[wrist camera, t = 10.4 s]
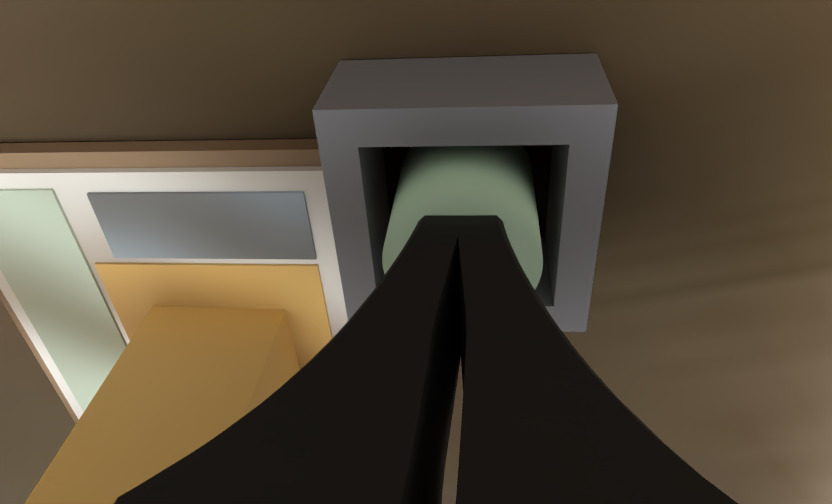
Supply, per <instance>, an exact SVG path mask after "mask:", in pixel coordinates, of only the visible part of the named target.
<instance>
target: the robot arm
mask: <svg viewBox="0 0 832 504" xmlns="http://www.w3.org/2000/svg"><path fill="white" fill-rule="evenodd" d="M460 357H461V365H462V379H463V409H462V425H461V440H460V455H459V470H458V483H457V496H456V504H738V503H736V502H735V501H734V500H732V499H731V498H730V497H728V496H727V495H726V494H724V493H723V492H722V491H721V490H719V489H718V488H717V487H715V486H714V485H713V484H711V483H710V482H709V481H707V480H706V479H705V478H703V477H702V476H701V475H700V474H699V473H698V472H696V471H695V470H694V469H693V468H692V467H691V466H689V465H688V464H687V463H686V462H685V461H684V460H683V459H681V458H680V457H679V456H678V455H677V454H676V453H675V452H673V451H672V450H671V449H670V448H669V447H668V446H666V445H665V444H664V443H663V442H662V441H661V440H660V439H659V438H658V437H657V436H656V435H655V434H654V433H653V432H652V431H651V430H650V429H649V428H648V427H647V426H646V425H645V424H644V423H643V422H642V421H641V420H640V419H639V418H638V417H637V416H636V415H634V414H633V413H632V412H631V411H630V410H629V409H628V408H627V407H626V406H625V405H624V404H623V403H622V402H621V401H620V400H619V399H618V398H617V397H616V396H615V395H614V394H613V393H612V391H611V390H610V389H609V388H608V387H607V386H606V385H605V384H604V382H603V381H602V380H601V379H600V378H599V377H598V376H597V375H596V374H595V372H594V371H593V370H592V369H591V368H590V367H589V365H588V364H587V363H586V362H585V360H584V359H583V358H582V357H581V356H580V354H579V353H578V352H577V351H576V349H575V348H574V347H573V346H572V344H571V343H570V342H569V340H568V339H567V338H566V336H565V335H564V334H563V332H562V331H561V330H560V328H559V327H558V325H557V324H556V322H555V321H554V319H553V318H552V316H551V315H550V314H549V312H548V311H547V309H546V308H545V306H544V304H543V303H542V301H541V300H540V298H539V297H538V295H537V293H536V292H535V290H534V288H533V286H532V285H531V283H530V281H529V279H528V278H527V276H526V274H525V272H524V271H523V269H522V267H521V265H520V263H519V261H518V259H517V257H516V255H515V252H514V250H513V248H512V246H511V244H510V241H509V239H508V236H507V233H506V230H505V227H504V223H503V221H502V220H501V219H500V218H499V217H498V216H497V215H425V216H423V217H422V218H421V219H420V220H419V221H418V223H417V225H416V227H415V229H414V230H413V232H412V234H411V236H410V238H409V239H408V241H407V242H406V244H405V246H404V247H403V249H402V250H401V252H400V254H399V255H398V257H397V258H396V260H395V261H394V263H393V264H392V265H391V267H390V268H389V270H388V271H387V272H386V274H385V275H384V277H383V278H382V279H381V281H380V282H379V284H378V285H377V286H376V288H375V289H374V290H373V291H372V293H371V294H370V295H369V296H368V298H367V299H366V300H365V301H364V302H363V304H362V305H361V306H360V307H359V309H358V310H357V311H356V312H355V313H354V315H353V316H352V317H351V318H350V319H349V321H348V322H347V323H346V324H345V325H344V326H343V327H342V328H341V329H340V331H339V332H338V333H337V334H336V335H335V336H334V337H333V338H332V339H331V340H330V341H329V342H328V343H327V344H326V345H325V346H324V347H323V348H322V349H321V350H320V351H319V352H318V353H317V354H316V355H315V356H314V357H313V358H312V359H311V360H310V361H309V362H308V363H307V364H306V365H305V366H304V367H302V368H301V369H300V370H299V371H298V372H297V373H296V374H295V375H293V376H292V377H291V378H290V379H289V380H288V381H287V382H286V383H285V384H283V385H282V386H281V387H280V388H279V389H278V390H276V391H275V392H274V393H273V394H272V395H270V396H269V397H268V398H267V399H266V400H264V401H263V402H262V403H261V404H259V405H258V406H257V407H255V408H254V409H253V410H251V411H250V412H249V413H247V414H246V415H245V416H243V417H242V418H240V419H239V420H238V421H236V422H235V423H234V424H232V425H231V426H230V427H228V428H227V429H226V430H224V431H223V432H222V433H220V434H219V435H217V436H216V437H214V438H213V439H212V440H210V441H209V442H207V443H206V444H204V445H203V446H201V447H200V448H198V449H197V450H195V451H194V452H192V453H190V454H189V455H187V456H186V457H184V458H182V459H181V460H179V461H177V462H176V463H174V464H172V465H171V466H169V467H168V468H166V469H164V470H163V471H161V472H159V473H158V474H156V475H154V476H153V477H151V478H150V479H148V480H146V481H145V482H143V483H141V484H140V485H138V486H136V487H135V488H133V489H131V490H130V491H128V492H126V493H124V494H123V495H121V496H119V497H118V498H117V499H116V501H115V502H114V504H442V489H443V479H444V469H445V462H446V455H447V448H448V441H449V434H450V427H451V420H452V413H453V406H454V400H455V393H456V386H457V379H458V372H459V365H460Z"/></svg>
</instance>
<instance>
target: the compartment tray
mask: <svg viewBox="0 0 832 504" xmlns="http://www.w3.org/2000/svg"><path fill="white" fill-rule="evenodd" d="M0 299H1V301H2V302H3V304H4V306H5V307H6V309H7V311H8V312H9V314H10V316H11V317H12V319H13V321H14V322H15V324H16V326H17V327H18V329H19V330H20V332H21V334H22V335H23V337H24V339H25V340H26V342H27V344H28V345H29V347H30V349H31V350H32V352H33V354H34V355H35V357H36V359H37V360H38V362H39V364H40V365H41V367H42V368H43V370H44V372H45V373H46V375H47V377H48V378H49V380H50V382H51V383H52V385H53V387H54V388H55V390H56V392H57V393H58V395H59V397H60V398H61V400H62V401H63V403H64V405H65V406H66V408H67V410H68V411H69V413H70V415H71V416H72V418H73V420H74V421H75V423H76V424H77V422H78V420H79V419H80V417H81V416H82V414H83V413H84V411H85V410H86V408H87V407H88V405H89V403H90V402H91V400H92V399H93V397H94V396H95V394H96V393H97V391H98V390H99V388H100V387H101V385H102V383H103V382H104V380H105V379H106V377H107V376H108V374H109V373H110V371H111V370H112V368H113V366H114V365H115V363H116V362H117V360H118V359H119V357H120V356H121V354H122V353H123V351H124V350H125V348H126V346H127V345H128V343H129V342H130V340H131V339H132V337H133V336H134V334H135V333H136V331H137V329H138V328H139V326H140V325H141V323H142V322H143V320H144V319H145V317H146V316H147V314H148V313H149V311H150V309H151V308H152V306H176V307H212V308H249V309H285V310H286V312H287V316H288V320H289V325H290V329H291V334H292V338H293V342H294V347H295V351H296V355H297V360H298V364H299V368H300V369H301V368H302V367H304V366H305V365H306V364H307V363H308V362H309V361H310V360H311V359H312V358H313V357H314V356H315V355H316V354H317V353H318V352H319V351H320V350H321V349H322V348H323V347H324V346H325V345H326V344H327V343H328V342H329V341H330V340H331V339H332V338H333V337H334V336H335V335H336V334H337V333H338V332H339V331H340V329H341V328H342V327H343V326H344V325H345V324H346V323H347V322H348V318H347V312H346V307H345V301H344V295H343V289H342V283H341V277H340V271H339V265H338V260H337V254H336V248H335V242H334V236H333V230H332V224H331V218H330V213H329V207H328V201H327V195H326V189H325V183H324V177H323V171H322V166H321V160H320V154H319V148H318V142H317V139H266V140H195V141H123V142H52V143H0Z"/></svg>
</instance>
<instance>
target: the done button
mask: <svg viewBox="0 0 832 504" xmlns="http://www.w3.org/2000/svg"><path fill="white" fill-rule="evenodd" d="M425 215H497V216H498V217H499V218H500V219H501V220H502V221H503V223H504V227H505V230H506V233H507V236H508V239H509V241H510V244H511V246H512V248H513V250H514V252H515V255H516V257H517V259H518V261H519V263H520V265H521V267H522V269H523V271H524V272H525V274H526V276H527V278H528V279H529V281H530V283H531V285H532V286H533V288H534V290H535V289H536V287H537V285H538V283H539V281H540V278H541V275H542V269H543V255H542V246H541V238H540V230H539V221H538V213H537V204H536V196H535V188H534V179H533V171H532V165H531V161H530V158H529V156H528V154H527V152H526V150H525V148H524V147H523V145H504V146H423V147H409V149H408V151H407V153H406V155H405V157H404V160H403V164H402V168H401V172H400V176H399V181H398V185H397V190H396V194H395V198H394V203H393V207H392V212H391V216H390V220H389V225H388V229H387V234H386V238H385V242H384V247H383V254H382V265H383V270H384V274H386V272H387V271H388V270H389V268H390V267H391V265H392V264H393V263H394V261H395V260H396V258H397V257H398V255H399V254H400V252H401V250H402V249H403V247H404V246H405V244H406V242H407V241H408V239H409V238H410V236H411V234H412V232H413V230H414V229H415V227H416V225H417V223H418V221H419V220H420V219H421V218H422V217H423V216H425Z"/></svg>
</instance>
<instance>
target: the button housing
mask: <svg viewBox="0 0 832 504" xmlns="http://www.w3.org/2000/svg"><path fill="white" fill-rule="evenodd" d="M617 110H618V103H617V100H616V98H615V95H614V93H613V91H612V88H611V86H610V83H609V81H608V79H607V76H606V74H605V71H604V69H603V67H602V64H601V62H600V60H599V57H598V55H597V53H588V54H552V55H517V56H481V57H445V58H410V59H374V60H339V62H338V64H337V66H336V67H335V69H334V71H333V73H332V75H331V77H330V78H329V80H328V82H327V84H326V86H325V88H324V89H323V91H322V93H321V95H320V97H319V98H318V100H317V102H316V104H315V106H314V108H313V109H312V113H313V119H314V124H315V130H316V136H317V142H318V148H319V154H320V160H321V166H322V171H323V177H324V183H325V189H326V195H327V201H328V207H329V213H330V218H331V224H332V230H333V236H334V242H335V248H336V254H337V260H338V265H339V271H340V277H341V283H342V289H343V295H344V301H345V307H346V312H347V318H348V321H349V319H350V318H351V317H352V316H353V315H354V313H355V312H356V311H357V310H358V309H359V307H360V306H361V305H362V304H363V302H364V301H365V300H366V299H367V298H368V296H369V295H370V294H371V293H372V291H373V290H374V289H375V288H376V286H377V285H378V284H379V282H380V281H381V279H382V278H383V277H384V275H385V274H384V270H383V265H382V254H383V247H384V242H385V238H386V234H387V229H388V225H389V220H390V212H389V202H388V192H387V183H386V173H385V163H384V153H383V147H423V146H504V145H552V155H551V168H550V181H549V194H548V206H547V219H546V232H545V238H541V246H542V255H543V269H542V275H541V278H540V281H539V283H538V285H537V287H536V289H535V292H536V293H537V295H538V297H539V298H540V300H541V301H542V303H543V304H544V306H545V308H546V309H547V311H548V312H549V314H550V315H551V316H552V318H553V319H554V321H555V322H556V324H557V325H558V327H559V328H560V330H561V331H562V332H586V328H587V321H588V314H589V307H590V300H591V293H592V286H593V279H594V272H595V265H596V258H597V251H598V244H599V237H600V229H601V222H602V215H603V208H604V201H605V194H606V187H607V180H608V173H609V166H610V159H611V152H612V145H613V138H614V131H615V124H616V117H617Z"/></svg>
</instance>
